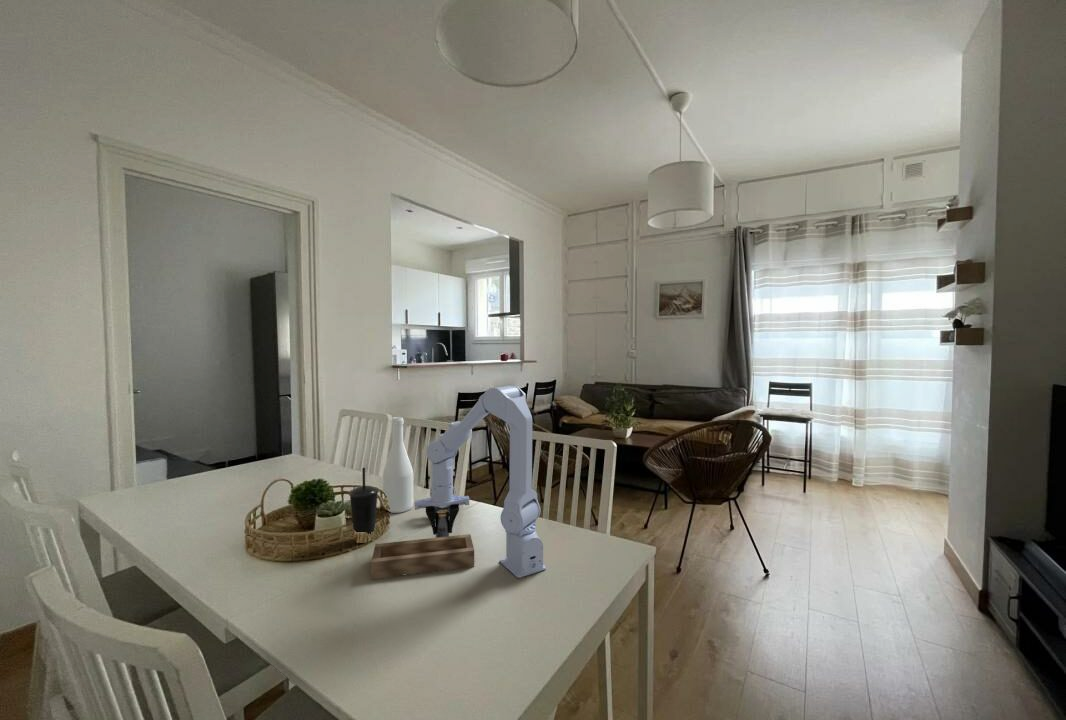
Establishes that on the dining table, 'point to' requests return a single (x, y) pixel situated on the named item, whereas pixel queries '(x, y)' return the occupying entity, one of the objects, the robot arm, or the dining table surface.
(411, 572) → the trough
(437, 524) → the battery cell
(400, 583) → the dining table surface
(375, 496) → the drinking cup
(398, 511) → the wine bottle
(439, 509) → the watch
